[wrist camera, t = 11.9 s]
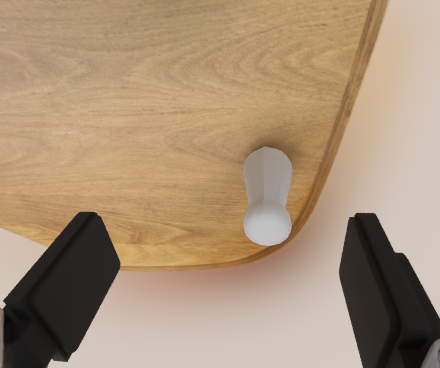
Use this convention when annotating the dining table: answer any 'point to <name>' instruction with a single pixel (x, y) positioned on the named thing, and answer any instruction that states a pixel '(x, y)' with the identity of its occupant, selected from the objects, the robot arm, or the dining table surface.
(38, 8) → the dining table surface
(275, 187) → the salt shaker
